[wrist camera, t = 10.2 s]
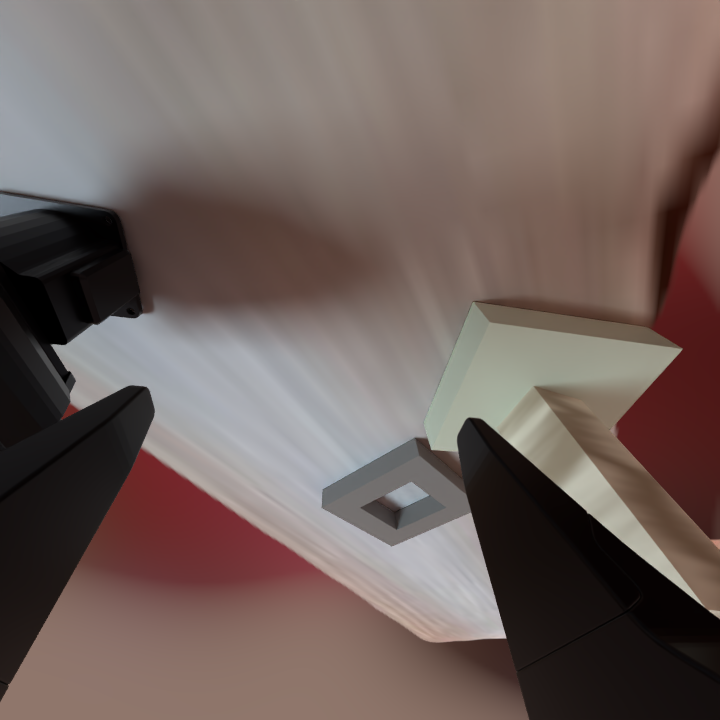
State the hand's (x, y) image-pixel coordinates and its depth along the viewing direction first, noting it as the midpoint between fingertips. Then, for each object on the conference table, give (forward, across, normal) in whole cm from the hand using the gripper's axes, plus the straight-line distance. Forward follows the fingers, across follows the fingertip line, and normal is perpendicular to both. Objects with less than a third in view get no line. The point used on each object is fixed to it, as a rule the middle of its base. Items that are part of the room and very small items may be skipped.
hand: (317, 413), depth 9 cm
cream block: (+10, -17, +8) cm, 21 cm away
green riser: (+13, -17, +7) cm, 23 cm away
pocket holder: (+13, -10, +24) cm, 29 cm away
